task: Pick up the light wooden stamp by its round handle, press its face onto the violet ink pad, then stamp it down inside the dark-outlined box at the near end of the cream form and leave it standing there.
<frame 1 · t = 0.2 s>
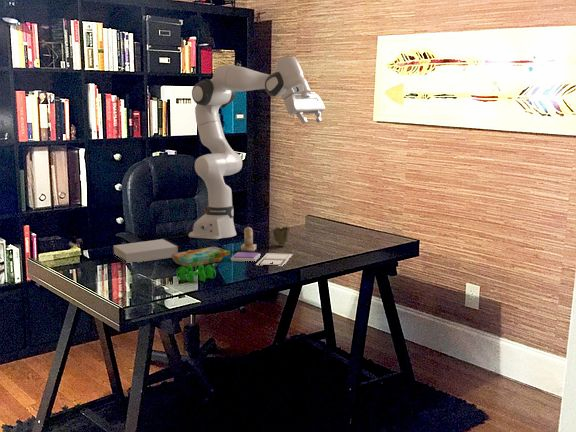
hand: (312, 122, 265), 54 cm above the table, tool tilted 30°, fingers open, 8 cm apart
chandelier: (196, 279, 239), on the table
disc drive: (146, 257, 273), on the table
cup: (281, 246, 286), on the table
multicoloured oblong shape: (201, 262, 262), on the table
ink pad: (245, 258, 265), on the table
stamp: (248, 250, 279), on the table
form: (274, 259, 263), on the table
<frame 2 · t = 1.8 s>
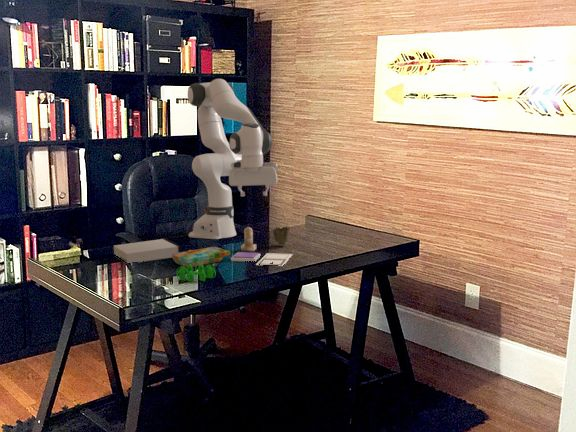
hand: (254, 196, 273), 24 cm above the table, tool pointing down, fingers open, 8 cm apart
nothing on the table moved.
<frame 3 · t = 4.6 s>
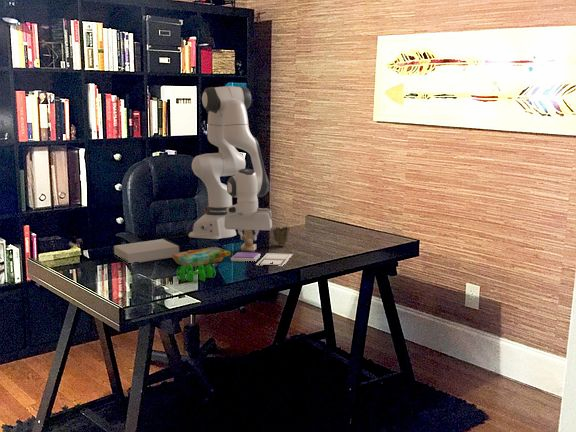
hand: (248, 239, 278), 5 cm above the table, tool pointing down, fingers closed on stamp, 4 cm apart
stamp: (248, 250, 279), on the table, touching gripper
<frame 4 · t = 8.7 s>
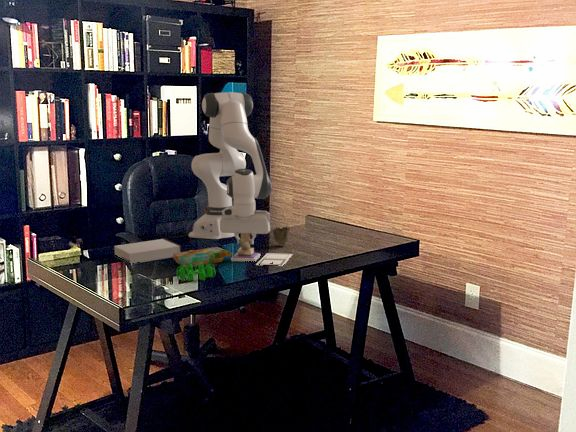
hand: (245, 243, 264), 6 cm above the table, tool pointing down, fingers closed on stamp, 4 cm apart
stamp: (245, 254, 265), point 2 cm above the table, touching gripper, ink pad
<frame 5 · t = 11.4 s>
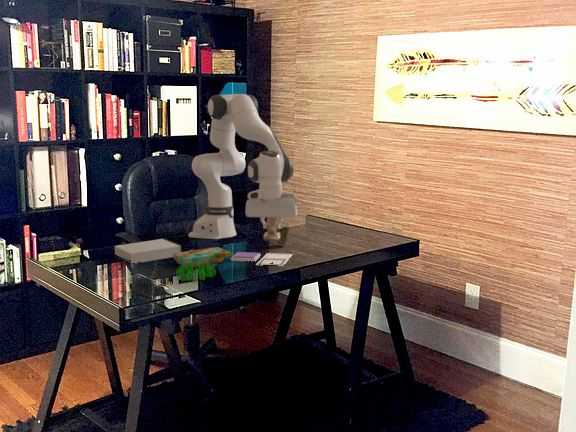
hand: (271, 228, 256), 14 cm above the table, tool pointing down, fingers closed on stamp, 4 cm apart
stamp: (272, 239, 256), point 9 cm above the table, touching gripper
when the fingers open (5 cm above the table, at t = 13.0 s): stamp stays where it is, resting on form.
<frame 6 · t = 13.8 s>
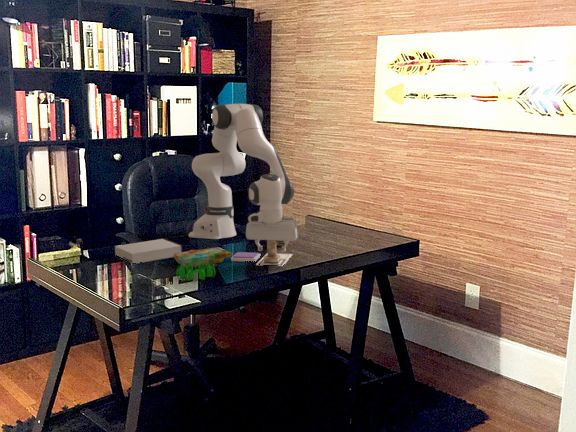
hand: (271, 250, 258), 5 cm above the table, tool pointing down, fingers open, 8 cm apart
stamp: (272, 262, 258), resting on form
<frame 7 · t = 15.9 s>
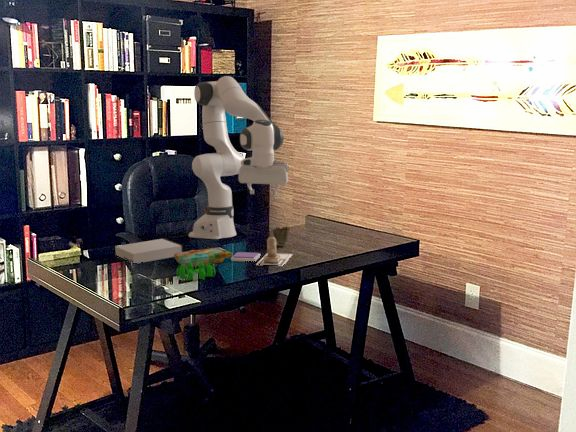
hand: (263, 194, 267), 25 cm above the table, tool pointing down, fingers open, 8 cm apart
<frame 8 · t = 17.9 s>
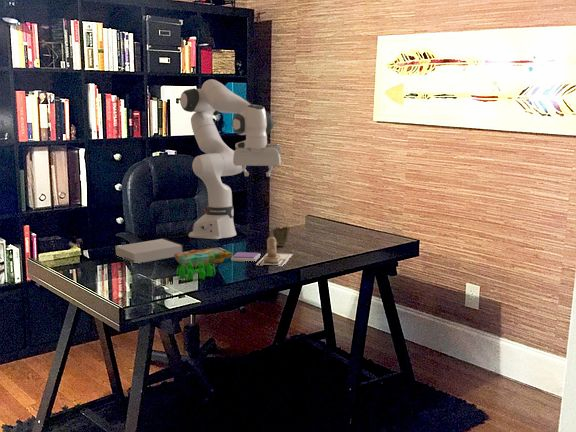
hand: (257, 176, 279), 31 cm above the table, tool pointing down, fingers open, 8 cm apart
at the end: stamp 0.2 cm from the target spot on the form, point 0.2 cm above the form's base; stamp tilted 0°; the gripper is holding nothing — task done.
